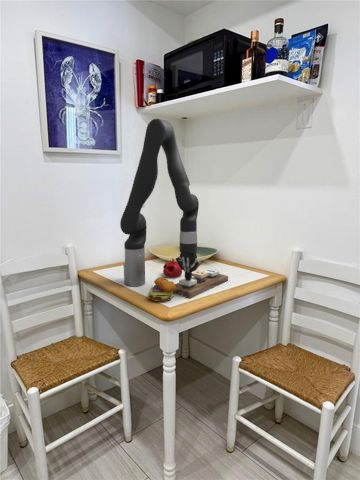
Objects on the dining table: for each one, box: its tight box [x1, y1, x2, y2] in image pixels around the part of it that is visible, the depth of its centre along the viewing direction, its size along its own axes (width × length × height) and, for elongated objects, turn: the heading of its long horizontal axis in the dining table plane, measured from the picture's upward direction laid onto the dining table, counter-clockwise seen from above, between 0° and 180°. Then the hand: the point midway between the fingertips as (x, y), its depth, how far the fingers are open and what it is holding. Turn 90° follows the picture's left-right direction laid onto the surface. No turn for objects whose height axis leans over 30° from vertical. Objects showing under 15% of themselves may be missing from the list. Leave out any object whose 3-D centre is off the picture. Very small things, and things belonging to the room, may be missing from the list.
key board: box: [173, 273, 229, 299], centre depth 153 cm, size 12×30×2 cm, turn 141°
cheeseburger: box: [147, 276, 176, 303], centre depth 138 cm, size 10×11×10 cm
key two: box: [192, 270, 209, 283], centre depth 153 cm, size 6×6×4 cm
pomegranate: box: [162, 258, 183, 279], centre depth 168 cm, size 10×10×9 cm
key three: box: [203, 268, 220, 278], centre depth 160 cm, size 6×6×4 cm
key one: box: [178, 278, 197, 288], centre depth 146 cm, size 6×6×4 cm
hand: (188, 280), depth 146 cm, fingers closed
